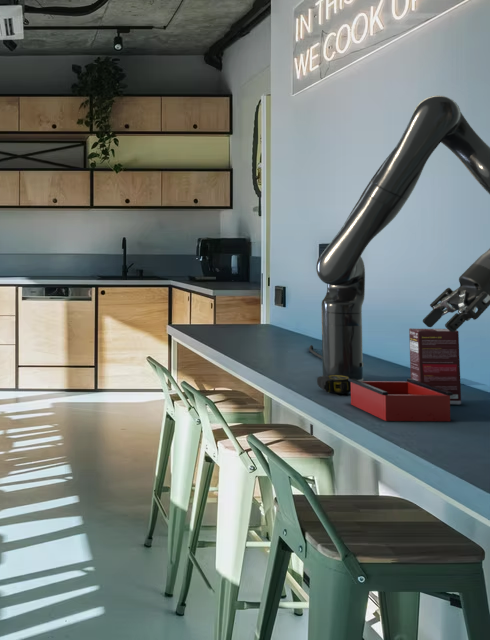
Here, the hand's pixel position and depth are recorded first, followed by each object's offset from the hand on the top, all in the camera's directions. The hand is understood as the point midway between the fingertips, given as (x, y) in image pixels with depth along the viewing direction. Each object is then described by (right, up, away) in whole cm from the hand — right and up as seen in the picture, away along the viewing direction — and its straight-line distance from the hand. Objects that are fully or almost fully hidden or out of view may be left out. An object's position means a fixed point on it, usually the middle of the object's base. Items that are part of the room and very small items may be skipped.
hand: (437, 326), depth 160 cm
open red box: (-14, -16, -10) cm, 24 cm away
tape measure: (-19, -17, +9) cm, 27 cm away
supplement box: (-1, -17, -1) cm, 17 cm away
